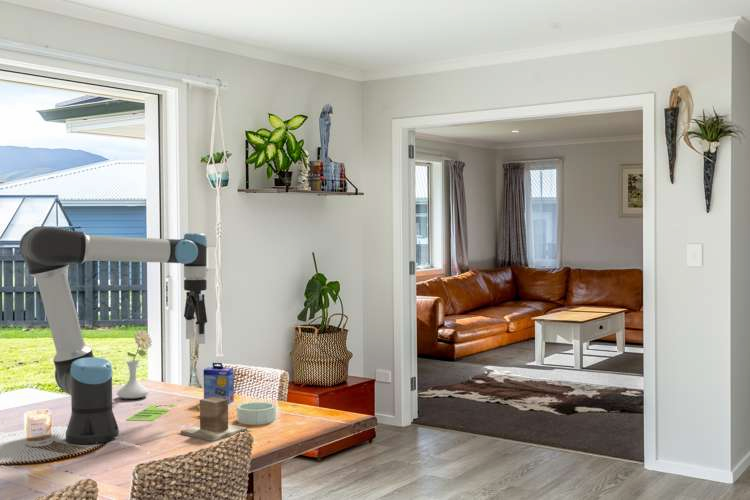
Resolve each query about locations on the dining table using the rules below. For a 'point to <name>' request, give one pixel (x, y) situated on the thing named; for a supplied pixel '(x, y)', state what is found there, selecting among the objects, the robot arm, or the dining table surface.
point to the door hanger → (149, 414)
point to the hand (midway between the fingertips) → (195, 341)
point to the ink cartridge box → (219, 382)
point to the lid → (213, 421)
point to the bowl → (256, 413)
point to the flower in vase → (133, 386)
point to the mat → (205, 439)
